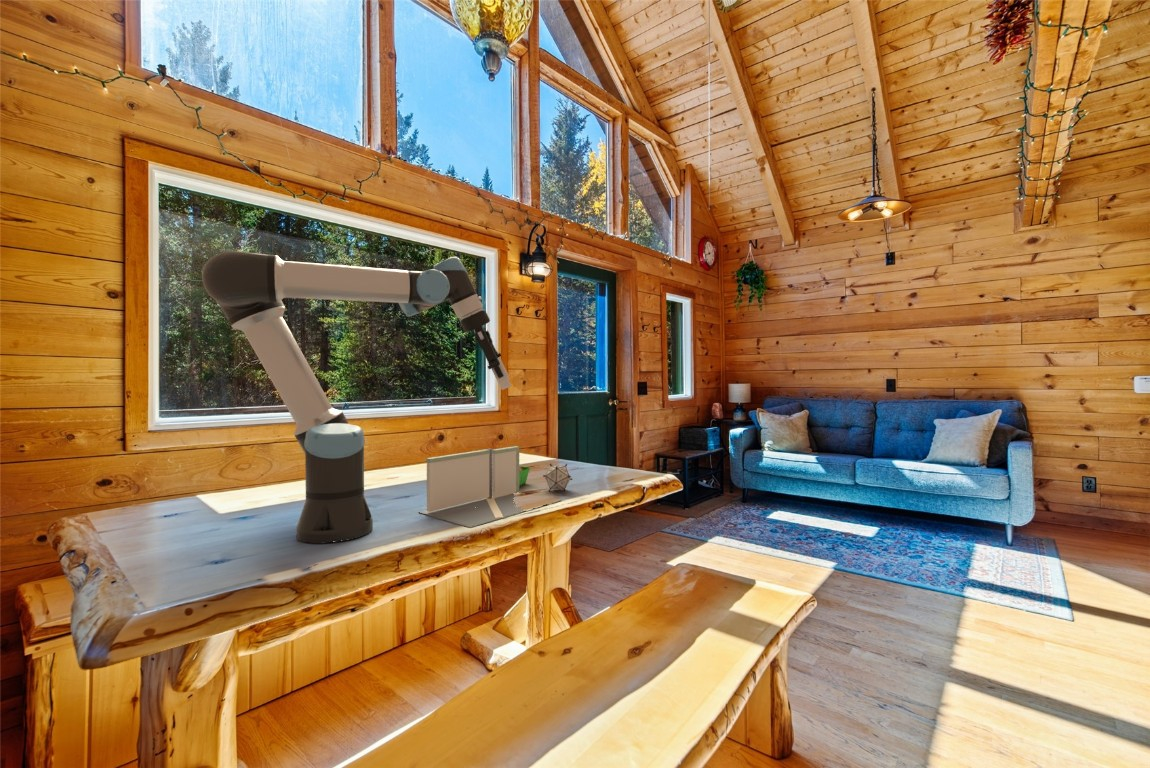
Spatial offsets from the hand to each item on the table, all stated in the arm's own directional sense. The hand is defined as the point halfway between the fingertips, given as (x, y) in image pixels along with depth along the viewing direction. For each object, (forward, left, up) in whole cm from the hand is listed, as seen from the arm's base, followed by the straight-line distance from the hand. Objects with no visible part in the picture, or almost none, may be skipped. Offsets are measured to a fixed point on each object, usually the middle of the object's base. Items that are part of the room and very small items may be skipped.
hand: (506, 383), depth 143 cm
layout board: (-8, -4, -32) cm, 34 cm away
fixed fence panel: (+3, +3, -32) cm, 33 cm away
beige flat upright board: (-13, +3, -32) cm, 35 cm away
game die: (+17, -5, -33) cm, 37 cm away
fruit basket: (+13, +11, -33) cm, 37 cm away
